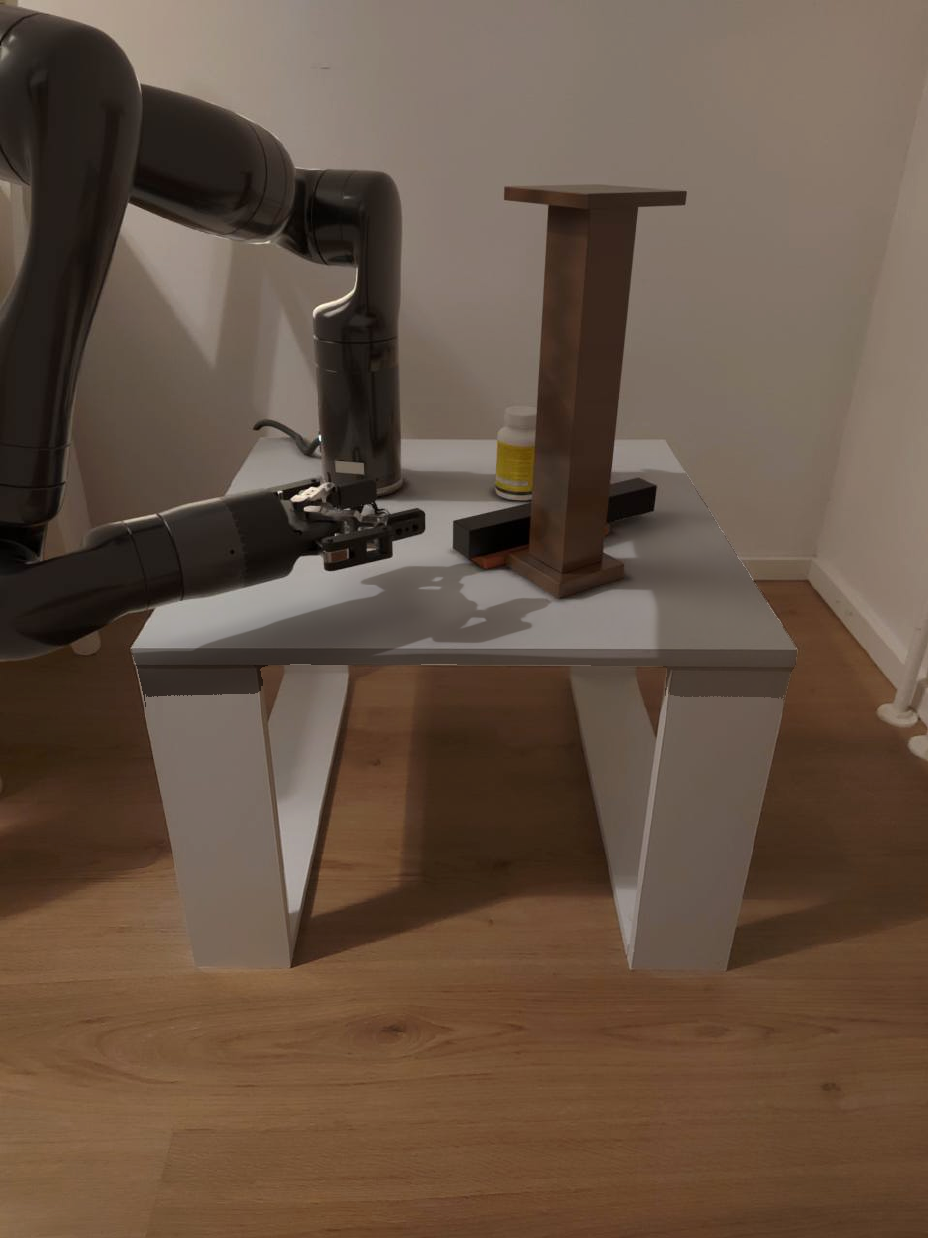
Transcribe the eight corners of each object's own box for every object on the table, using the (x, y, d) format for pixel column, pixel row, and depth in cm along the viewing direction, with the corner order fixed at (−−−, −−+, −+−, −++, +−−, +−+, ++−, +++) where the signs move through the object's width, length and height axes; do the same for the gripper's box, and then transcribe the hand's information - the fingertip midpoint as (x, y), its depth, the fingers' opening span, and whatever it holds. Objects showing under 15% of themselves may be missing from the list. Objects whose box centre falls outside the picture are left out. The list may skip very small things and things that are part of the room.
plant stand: (491, 565, 84) (503, 185, 68) (570, 542, 89) (599, 184, 73) (557, 606, 77) (588, 193, 61) (638, 579, 82) (687, 190, 66)
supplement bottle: (538, 503, 99) (543, 418, 94) (491, 499, 99) (494, 415, 95) (544, 487, 103) (549, 405, 98) (499, 483, 104) (502, 402, 99)
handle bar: (452, 520, 84) (469, 530, 82) (638, 476, 95) (657, 485, 93) (452, 548, 85) (469, 559, 83) (635, 502, 97) (654, 511, 94)
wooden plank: (457, 550, 87) (457, 541, 87) (578, 518, 95) (578, 509, 95) (486, 569, 83) (486, 560, 83) (609, 533, 91) (610, 524, 91)
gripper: (253, 531, 63) (441, 488, 71) (186, 474, 73) (358, 442, 81) (263, 622, 66) (441, 571, 74) (198, 555, 76) (361, 517, 85)
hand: (397, 504), depth 78 cm, fingers open, 8 cm apart
